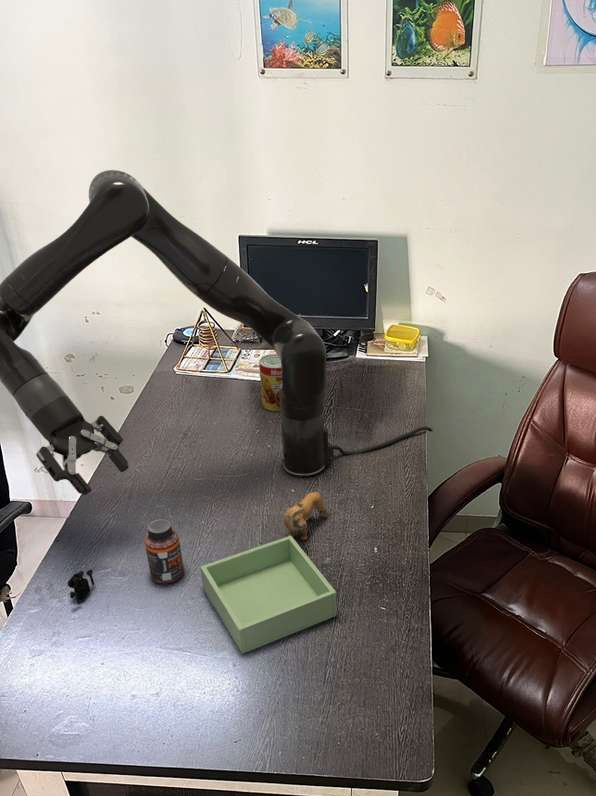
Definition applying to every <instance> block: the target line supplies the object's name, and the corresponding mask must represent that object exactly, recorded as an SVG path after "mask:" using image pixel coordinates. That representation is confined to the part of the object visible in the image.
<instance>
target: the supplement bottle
mask: <svg viewBox="0 0 596 796" xmlns="http://www.w3.org/2000/svg"><path fill="white" fill-rule="evenodd" d="M144 548H145V552H146V557H147V562H148V567H149V573H150V577H151V578H152V580H153V581H154V582H156V583H158V584H171V583H174V582H176V581H178V580H179V579H181V578H182V577H183V575H184V572H185V568H184V562H183V556H182V549H181V542H180V536H179V534H178V532H177V531H176V530H175V529H173V527H172V524H171V522H170V521H169V520H167V519H163V518H161V519H155V520H153V521H151V522H150V523H148V525H147V533H146V534H145V536H144Z"/></svg>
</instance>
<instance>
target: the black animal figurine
mask: <svg viewBox="0 0 596 796" xmlns="http://www.w3.org/2000/svg"><path fill="white" fill-rule="evenodd" d="M93 573H94V572H93V569H88V570H87V571H86V576H88V577H89V579H90V583H91V586H95V581H94V577H93ZM84 575H85V573H84V571H83V570H80V571H78V572H76V573H73V575H72V576H71V577H70V579H68V582H67V586H68V588H70V589H73V591H70V592H69V597H70V599H74V598H75V599H76V603H77V605H81V601H84V600H85V599H86V598H87V596H88V595H89V594H90V592H91V587H90V583H89V579H88V578H85V577H84Z"/></svg>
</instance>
